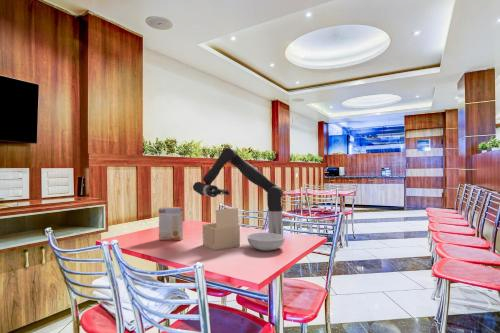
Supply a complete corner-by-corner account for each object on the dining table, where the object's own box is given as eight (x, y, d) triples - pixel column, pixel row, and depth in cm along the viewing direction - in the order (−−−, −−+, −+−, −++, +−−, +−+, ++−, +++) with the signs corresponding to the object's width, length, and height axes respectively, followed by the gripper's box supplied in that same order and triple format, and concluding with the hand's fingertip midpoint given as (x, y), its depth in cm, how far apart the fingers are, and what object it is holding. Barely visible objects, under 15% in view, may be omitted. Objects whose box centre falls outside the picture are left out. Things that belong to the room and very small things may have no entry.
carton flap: (215, 210, 157) (216, 210, 157) (237, 208, 165) (237, 208, 164) (216, 228, 156) (216, 228, 156) (238, 225, 164) (238, 225, 164)
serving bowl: (279, 255, 146) (279, 242, 146) (242, 252, 153) (241, 239, 154) (288, 245, 166) (288, 233, 166) (254, 242, 173) (254, 231, 173)
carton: (201, 244, 169) (201, 224, 169) (226, 240, 179) (226, 221, 179) (214, 251, 155) (213, 229, 156) (240, 246, 165) (240, 225, 165)
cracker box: (183, 238, 184) (183, 206, 185) (180, 241, 178) (179, 207, 179) (162, 238, 186) (162, 206, 186) (158, 240, 180) (158, 207, 180)
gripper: (201, 185, 183) (212, 187, 170) (220, 184, 191) (232, 187, 178) (200, 196, 183) (212, 200, 170) (220, 195, 191) (232, 198, 178)
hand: (222, 193), depth 174 cm, fingers open, 8 cm apart
